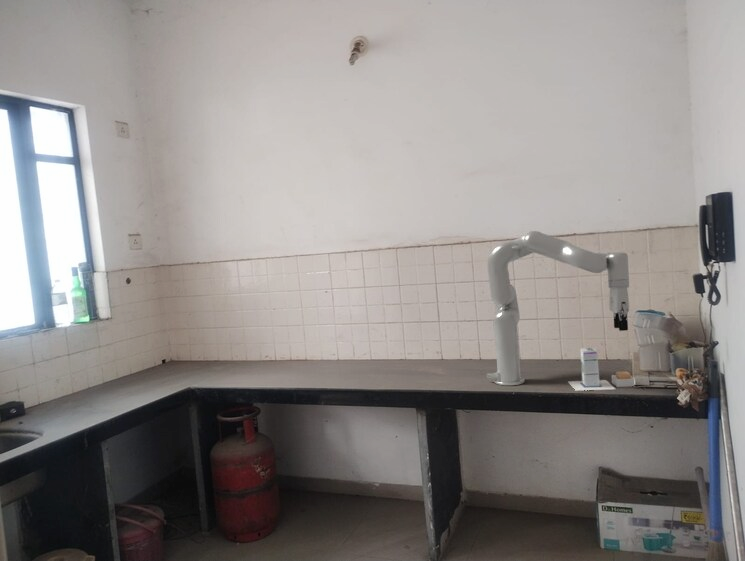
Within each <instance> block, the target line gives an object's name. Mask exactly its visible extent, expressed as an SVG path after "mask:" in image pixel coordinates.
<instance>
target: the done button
mask: <svg viewBox="0 0 745 561" xmlns="http://www.w3.org/2000/svg"><path fill="white" fill-rule="evenodd" d="M615 375H616V377H617V378H618V379H628V378H631V376H632V375H631V373H630V372H628V370H627V371H626V370H625V371H615ZM630 375H631V376H630Z"/></svg>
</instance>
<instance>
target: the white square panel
mask: <svg viewBox="0 0 745 561" xmlns="http://www.w3.org/2000/svg"><path fill="white" fill-rule="evenodd" d="M567 383H568V384H569V385H570V386H571V387H572V389H573V388H574V389H575V390H574V389H573V390H574V391H575V392H588V391H589V390H594V391H610V390H611V391H613V390H614V391H615V390H617V388H616V387H614V385H613V384H611V383H610V382H609V381H608V380H606V379H599V383H600V386H593V387H586V386H585V385H584V384H583V383H582V380H569V381H567ZM584 390H585V391H584ZM587 390H588V391H587Z"/></svg>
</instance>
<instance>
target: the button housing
mask: <svg viewBox="0 0 745 561" xmlns="http://www.w3.org/2000/svg"><path fill="white" fill-rule="evenodd" d="M630 376H631V378H628V379H618V378H617V377H616V374H612V375H611V383H612V385H613V386H615V388H616V387H617V388H628V387H631V388H632V386H633V387H635V386H634V379H633V377H634V376H632V375H631V374H630Z"/></svg>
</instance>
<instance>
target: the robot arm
mask: <svg viewBox="0 0 745 561" xmlns="http://www.w3.org/2000/svg"><path fill="white" fill-rule="evenodd" d="M533 253H534V254H537V255H540V256H544V257H546V258H549V259H552V260H555V261H558V262H560V263H564V264H568V265H570V266H572V267H575V268H578V269H581V270H584V271H587V272H589V273H593V274H600V273H602V272H604V271H607V282H608V283H607V284H608V285H607V286H608V289H609V311H610V312H611V313H613V328H614V329H618V331H619V332H623V331H625V332H626V331H629V323H628V314H629V312H630V302H629V292H628V288H630V276H629V274H630V272H629V255H628V253H626V252H610V253H603V252H602V253H601V252H600V253H599V252H593V251H590V250H587V249H584V248H580V247H578V246H576V245H574V244H572V243H571V242H568V241H567V240H563V239H560V238H558V237H554V236H552V235H548V234H545V233H542V232H540V231H538V230H532V231H529V232H527V233H526V234H525V235H522V236H519V237H518V238H517V237H516V238H515V239H513V240H510V241H507V242H503V243H500V244H499V245H498V246H496V247H495V248H493V250H492V251H491V252H490V253H489V256H488V259H487V273H488V283H489V289H490V298H491V300H492V302H493V304H495V307H496V313H495V315H494V317H493V331H494V332H493V333H494V339H495V354H496V366H497V367H496V368H497V369H496V370H495V371H496V372H493V373H486V378H487V379H490V380H491V379H493V380H494V383H495V384H497V385H499V386H518V385H522V384H524V383H525V378H524V377H521V363H520V345H519V332H518V324H519V322H520V310H519V302H518V297H517V291H516V289H515V287H514V286H513V284H511V280H510V273H509V264H510V263H511V262H514V261H516V260H519V259H522V258H524V257H526V256H529V255H531V254H533Z"/></svg>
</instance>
